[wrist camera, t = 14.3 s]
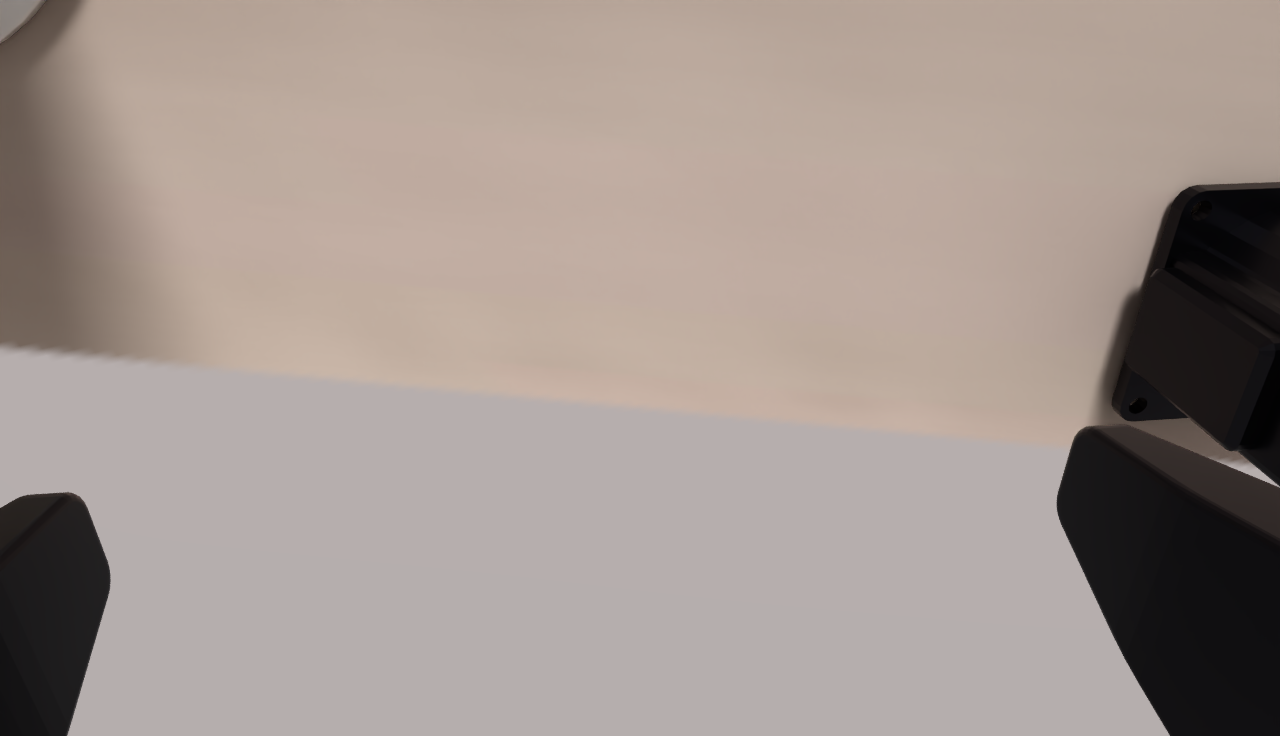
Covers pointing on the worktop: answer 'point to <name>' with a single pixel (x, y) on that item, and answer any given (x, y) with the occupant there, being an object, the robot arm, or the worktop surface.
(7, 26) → the coaster
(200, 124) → the worktop surface
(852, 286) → the worktop surface
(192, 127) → the worktop surface
